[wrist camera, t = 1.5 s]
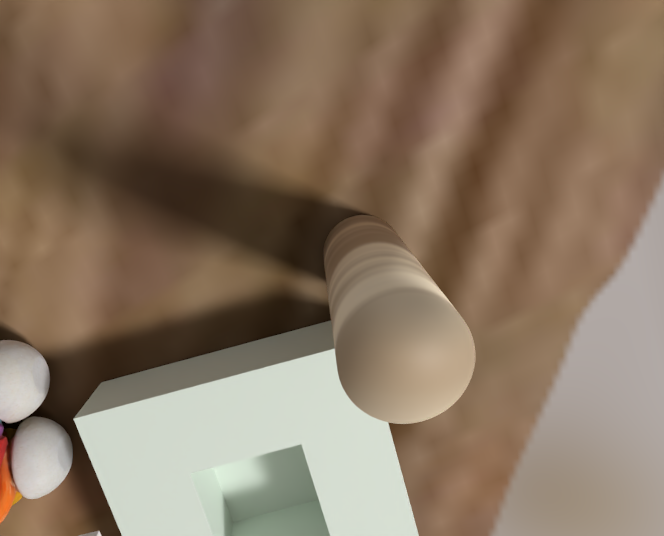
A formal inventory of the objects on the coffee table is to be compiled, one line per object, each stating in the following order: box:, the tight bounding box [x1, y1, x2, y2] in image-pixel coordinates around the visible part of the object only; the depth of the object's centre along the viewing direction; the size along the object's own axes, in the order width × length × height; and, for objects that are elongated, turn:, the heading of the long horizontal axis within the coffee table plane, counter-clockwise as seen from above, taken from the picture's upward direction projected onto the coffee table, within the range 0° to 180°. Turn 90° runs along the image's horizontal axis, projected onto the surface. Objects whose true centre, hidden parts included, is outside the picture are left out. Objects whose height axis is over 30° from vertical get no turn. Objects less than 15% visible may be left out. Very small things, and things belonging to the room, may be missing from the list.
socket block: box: [74, 320, 419, 536], centre depth 32 cm, size 14×14×4 cm
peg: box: [323, 215, 475, 424], centre depth 24 cm, size 4×4×14 cm
